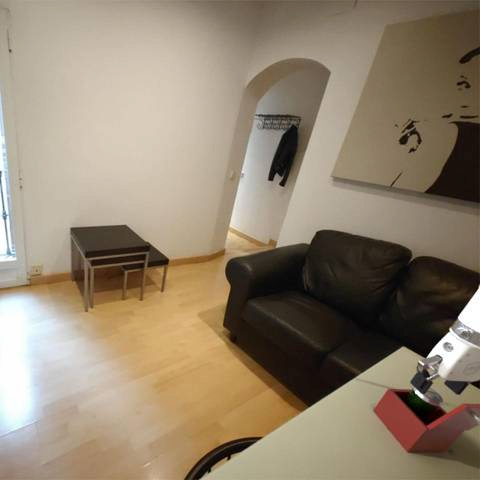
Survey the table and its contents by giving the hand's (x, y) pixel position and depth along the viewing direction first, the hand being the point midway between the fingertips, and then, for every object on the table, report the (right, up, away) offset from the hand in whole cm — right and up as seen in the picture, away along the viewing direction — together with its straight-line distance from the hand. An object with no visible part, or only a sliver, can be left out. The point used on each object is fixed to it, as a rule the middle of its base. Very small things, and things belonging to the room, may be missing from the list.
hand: (434, 388), depth 64 cm
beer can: (-2, -12, +5) cm, 14 cm away
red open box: (-2, -13, +5) cm, 14 cm away
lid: (0, -2, -6) cm, 7 cm away
